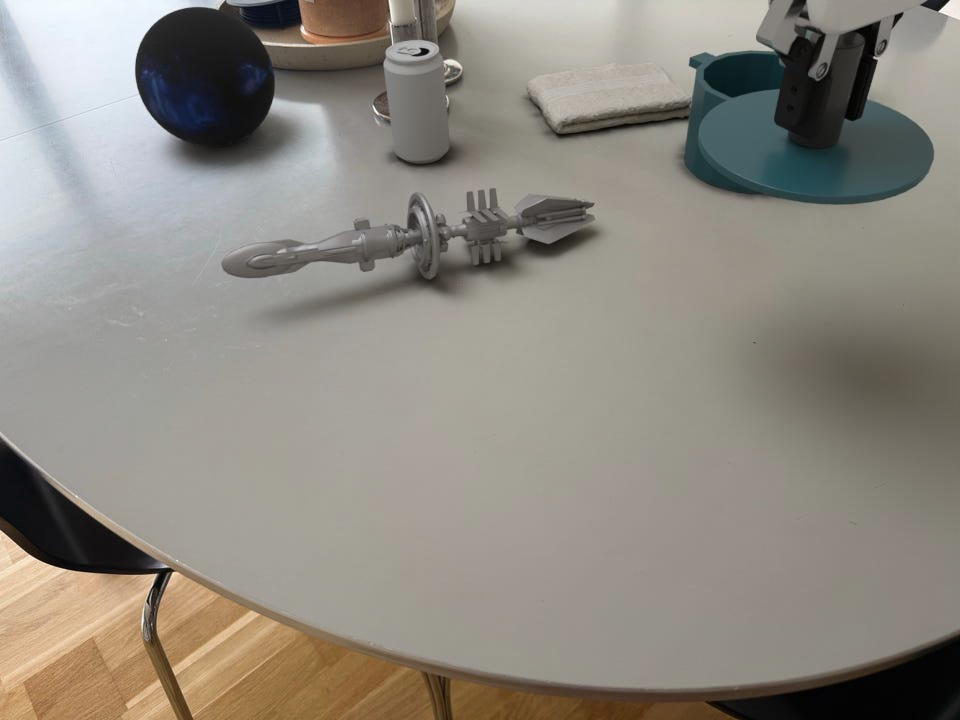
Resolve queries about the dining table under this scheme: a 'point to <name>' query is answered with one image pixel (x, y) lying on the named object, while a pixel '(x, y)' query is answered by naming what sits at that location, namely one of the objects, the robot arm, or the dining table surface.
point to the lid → (818, 143)
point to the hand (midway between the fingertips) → (817, 119)
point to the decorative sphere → (204, 76)
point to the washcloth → (608, 96)
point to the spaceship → (418, 236)
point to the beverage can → (417, 101)
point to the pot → (725, 99)
